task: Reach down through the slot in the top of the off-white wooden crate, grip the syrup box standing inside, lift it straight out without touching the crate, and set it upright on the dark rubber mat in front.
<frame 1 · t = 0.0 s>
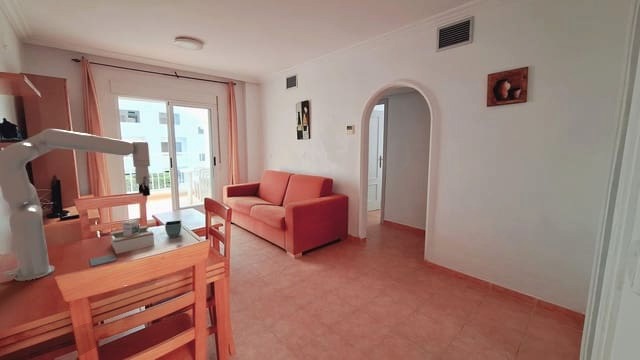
hand: (144, 194, 148), 31 cm above the table, tool pointing down, fingers open, 9 cm apart
placing mat: (103, 260, 137), on the table
flower pot: (174, 236, 171), on the table
slotted crate: (132, 244, 157), on the table
syrup box: (132, 245, 157), resting in slotted crate
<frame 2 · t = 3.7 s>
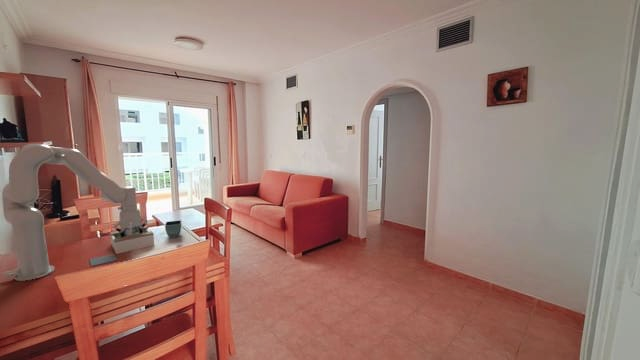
hand: (132, 236, 156), 5 cm above the table, tool pointing down, fingers closed on syrup box, 7 cm apart
syrup box: (132, 245, 157), resting in slotted crate, touching gripper
everything else where it was.
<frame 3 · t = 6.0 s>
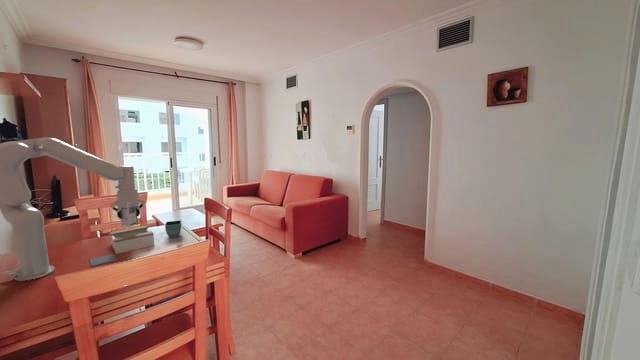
hand: (129, 217, 154), 17 cm above the table, tool pointing down, fingers closed on syrup box, 7 cm apart
syrup box: (129, 225, 154), point 12 cm above the table, touching gripper
everything else where it was.
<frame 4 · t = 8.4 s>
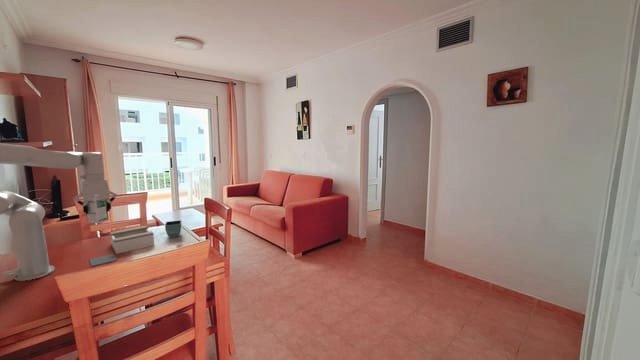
hand: (97, 211, 133), 26 cm above the table, tool pointing down, fingers closed on syrup box, 7 cm apart
syrup box: (98, 221, 134), point 20 cm above the table, touching gripper
everything else where it was.
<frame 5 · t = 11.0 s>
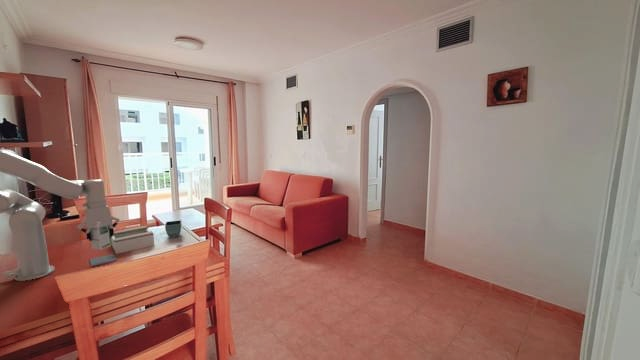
hand: (101, 237, 135), 12 cm above the table, tool pointing down, fingers closed on syrup box, 7 cm apart
syrup box: (102, 247, 136), point 7 cm above the table, touching gripper
everything else where it was.
when the fingers open (7 cm above the table, at t = 13.2 s): syrup box drops 1 cm, resting on placing mat.
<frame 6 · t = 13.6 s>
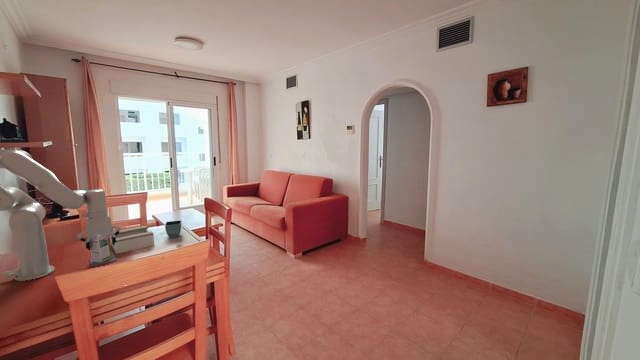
hand: (101, 246, 135), 7 cm above the table, tool pointing down, fingers open, 9 cm apart
syrup box: (102, 260, 136), resting on placing mat
everything else where it was.
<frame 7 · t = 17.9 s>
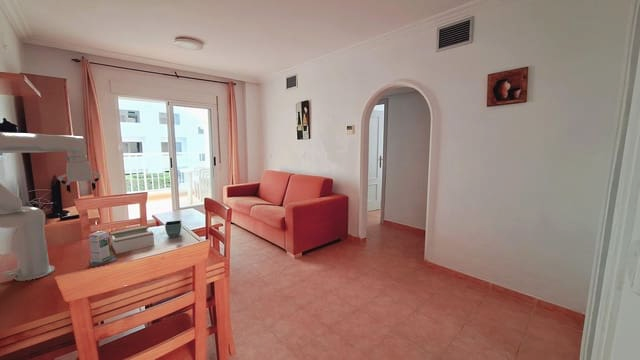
hand: (81, 191, 145), 33 cm above the table, tool pointing down, fingers open, 9 cm apart
nothing on the table moved.
at the end: syrup box inside the target area on the placing mat (0.4 cm from its centre), point 0.3 cm above the placing mat's base; syrup box tilted 0°; syrup box touching placing mat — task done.
